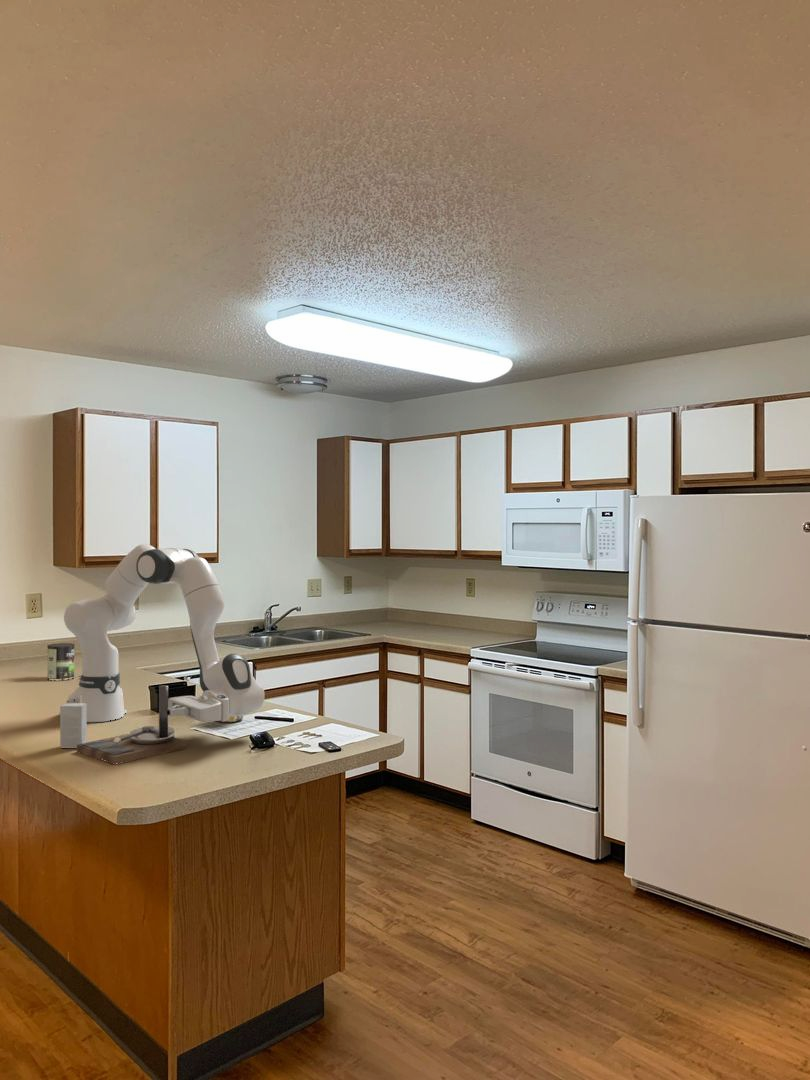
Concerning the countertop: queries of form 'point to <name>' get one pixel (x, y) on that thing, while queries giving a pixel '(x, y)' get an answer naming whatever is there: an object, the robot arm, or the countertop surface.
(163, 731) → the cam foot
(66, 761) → the countertop surface
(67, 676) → the coffee can
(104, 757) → the stand
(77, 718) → the skincare box
